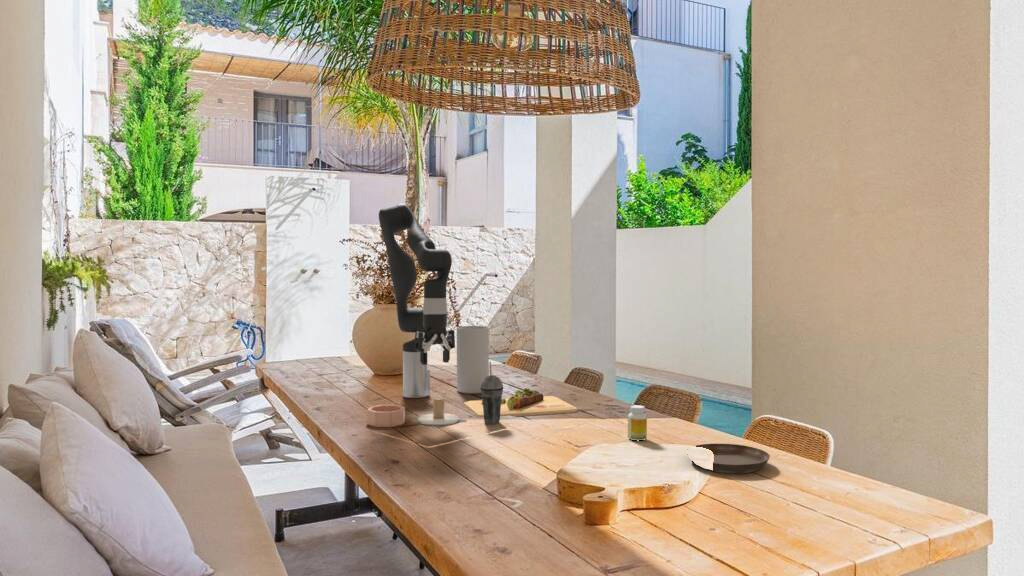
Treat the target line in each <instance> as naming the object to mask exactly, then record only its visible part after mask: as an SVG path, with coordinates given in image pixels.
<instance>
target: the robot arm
mask: <svg viewBox="0 0 1024 576" xmlns="http://www.w3.org/2000/svg"><path fill="white" fill-rule="evenodd" d="M378 220H379V221H378V222H379V225H380V229H381V234H382V238H383V241H384V245H385V248H386V254H387V259H388V266H389V273H390V278H391V282H392V287H393V291H394V296H395V303H396V304H395V305H396V315H397V323H398V327H399V329H400V331H401V332H403V333H415V334H414V338H413V339H412V340H409V341H406V342H404V343H403V344H402V397H404V398H410V399H417V398H418V399H419V398H426V397H428V396H431V395H430V393H431V391H430V390H431V383H430V381H431V379H430V378H431V376H430V374H431V373H430V370H429V369H428V364H429V363H428V358H429V357H428V350H429V349H430V348H431V347H432V346H436V345H439V346H441V348H442V349H443V350H442V362H443V363H449V361H450V359H451V358H450V357H451V355H450V353H451V352H450V351H451V350H452V349H455V348H456V339H455V337H456V336H455V330H454V329H447V326H448V303H447V284H448V279H449V276H450V275H449V274H450V273H451V267H452V263H453V258H452V255H451V253H450V252H449V251H448V250H446V249H436V245H435V243H434V241H433V240H432V239H431V238H430V237H429V236H428V234H426V232H425V231H424V230H423V228H422V226H421V225H420V223H419V221H418V220H417V218H416V216H415V215H414V212H413V211H412V209H411V208H410V207H409V206H408V204H406V203H398V204H394V205H391V206H387V207H384V208H381V209H380V210H379V212H378ZM408 229H409V230H408ZM405 230H408V232H407V236H406V243H407V246H408V248H409V250H411V251H412V252H413V253H414V255H415V257H416V260H417V265H418V266H419V268H420V269H421V270H422V271H423V272H429V273H430V272H431V273H433V272H436V274H435V277H433V278H429V279H427V280H425V281H424V282H423V305H422V307H408V299H409V296H410V295H411V293H412V292H413V290H414V287H415V286H416V284H417V280H418V275H417V267H416V262H415V260H414V258H413V257H412V256H411V255H410V254H409V253H408V252H407V251H405V249H403V248H402V247H401V245H399V243H398V242H397V240H396V238H395V234H397V233H399V232H403V231H405Z"/></svg>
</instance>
